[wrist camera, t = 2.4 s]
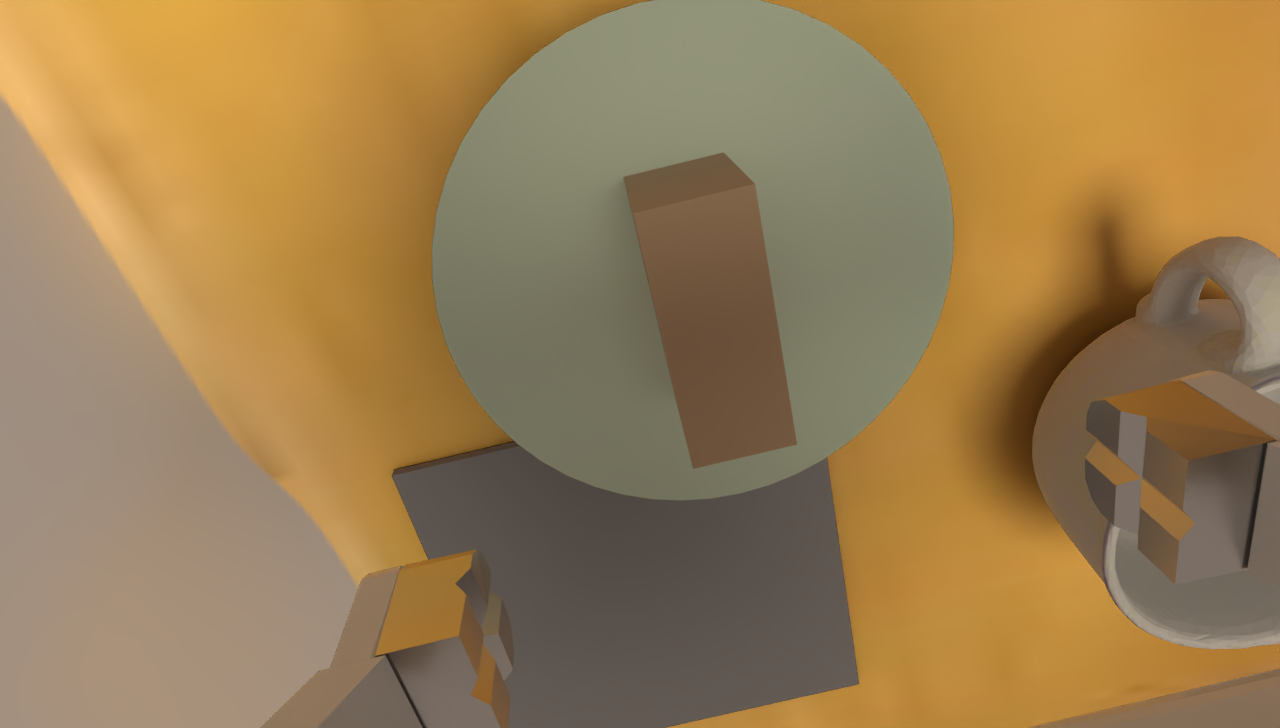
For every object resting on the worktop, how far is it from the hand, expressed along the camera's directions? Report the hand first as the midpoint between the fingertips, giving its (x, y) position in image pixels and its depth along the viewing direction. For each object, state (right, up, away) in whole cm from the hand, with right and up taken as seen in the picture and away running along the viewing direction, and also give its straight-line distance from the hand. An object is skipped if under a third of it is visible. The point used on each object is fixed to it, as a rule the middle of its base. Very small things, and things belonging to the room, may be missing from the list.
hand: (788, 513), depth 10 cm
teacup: (+17, +2, +19) cm, 26 cm away
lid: (-1, +4, +10) cm, 11 cm away
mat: (-2, -7, +22) cm, 23 cm away
